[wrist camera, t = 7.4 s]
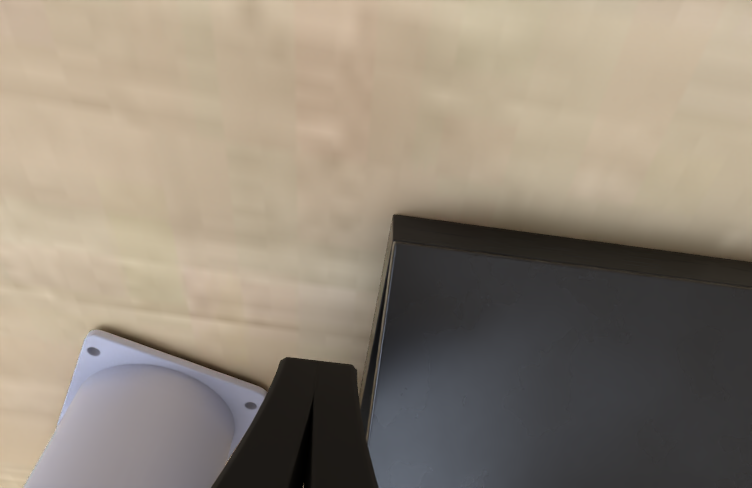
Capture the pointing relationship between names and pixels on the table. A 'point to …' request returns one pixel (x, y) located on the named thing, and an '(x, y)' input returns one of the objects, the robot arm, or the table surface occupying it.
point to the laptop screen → (558, 376)
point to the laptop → (542, 250)
